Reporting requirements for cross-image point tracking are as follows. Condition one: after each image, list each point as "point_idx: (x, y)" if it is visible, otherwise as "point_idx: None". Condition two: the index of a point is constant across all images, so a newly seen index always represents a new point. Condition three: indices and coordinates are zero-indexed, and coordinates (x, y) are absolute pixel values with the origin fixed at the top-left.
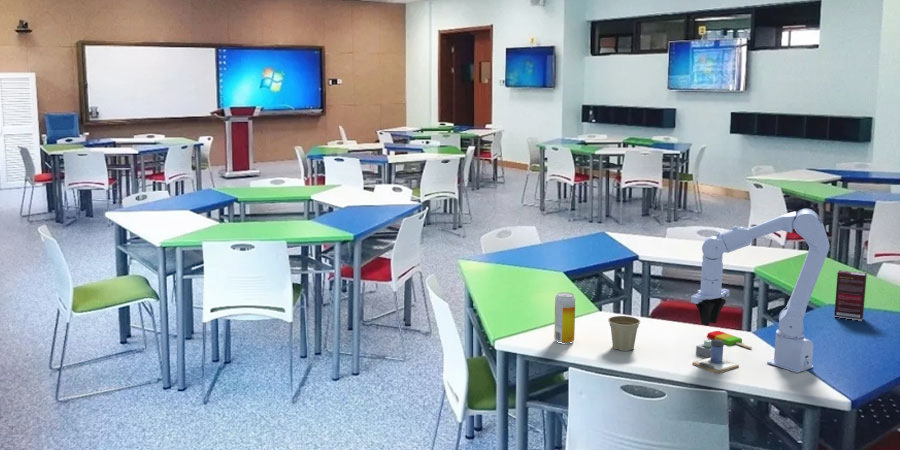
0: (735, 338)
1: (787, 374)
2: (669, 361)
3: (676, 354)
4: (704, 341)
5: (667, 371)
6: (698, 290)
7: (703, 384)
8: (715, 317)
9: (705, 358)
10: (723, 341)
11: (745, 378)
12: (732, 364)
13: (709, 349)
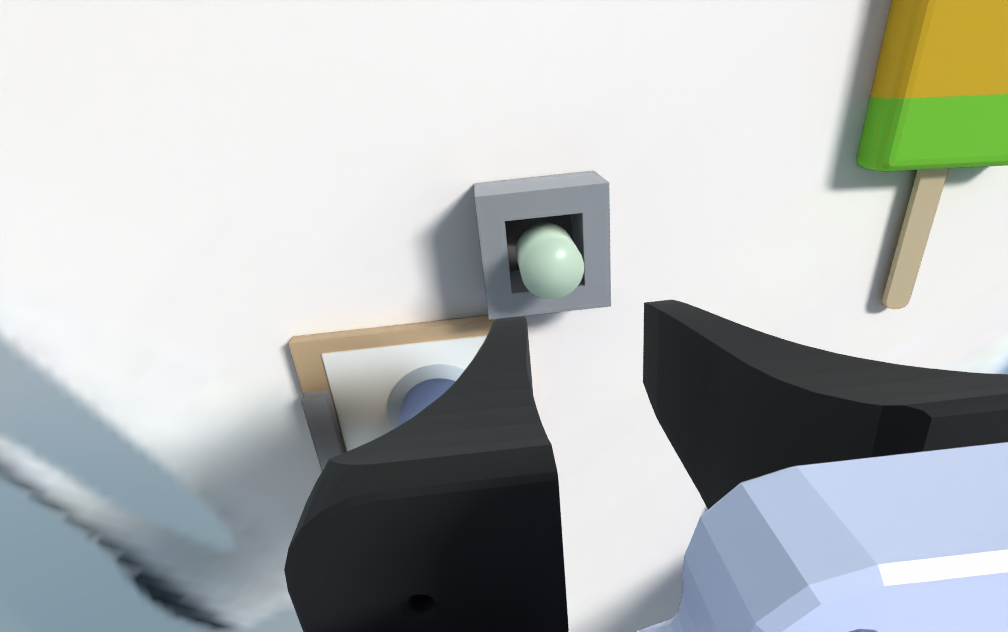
0: (986, 142)
1: (658, 617)
2: (161, 218)
3: (313, 118)
4: (523, 257)
5: (42, 358)
6: (842, 619)
7: (160, 564)
8: (674, 434)
9: (428, 328)
10: None
11: None
12: None
13: (503, 313)
